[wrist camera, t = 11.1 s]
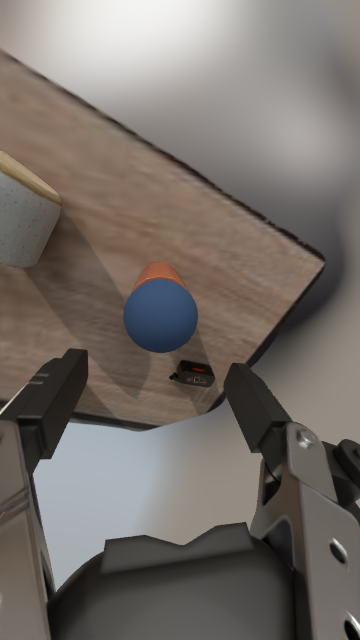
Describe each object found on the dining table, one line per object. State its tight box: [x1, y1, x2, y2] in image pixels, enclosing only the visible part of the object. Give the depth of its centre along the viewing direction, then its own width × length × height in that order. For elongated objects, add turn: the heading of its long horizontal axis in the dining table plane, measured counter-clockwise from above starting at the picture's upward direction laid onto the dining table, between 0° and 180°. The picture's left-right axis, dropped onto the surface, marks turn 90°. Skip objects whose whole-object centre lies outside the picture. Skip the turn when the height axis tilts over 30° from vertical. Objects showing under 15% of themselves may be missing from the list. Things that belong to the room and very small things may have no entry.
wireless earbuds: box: [169, 360, 215, 387], centre depth 31 cm, size 5×7×3 cm, turn 71°
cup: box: [132, 262, 188, 292], centre depth 21 cm, size 6×6×9 cm
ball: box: [124, 279, 198, 353], centre depth 15 cm, size 6×6×6 cm
